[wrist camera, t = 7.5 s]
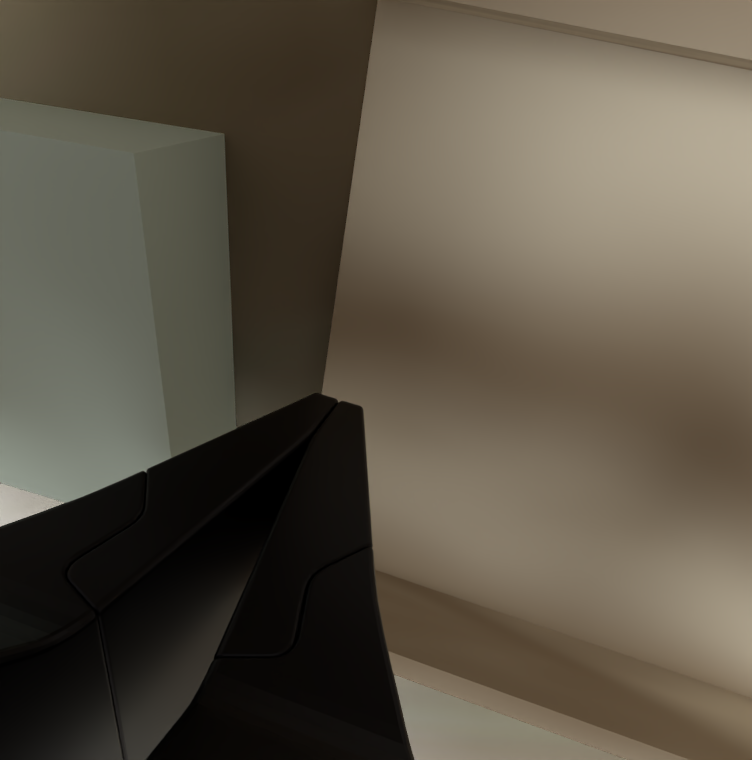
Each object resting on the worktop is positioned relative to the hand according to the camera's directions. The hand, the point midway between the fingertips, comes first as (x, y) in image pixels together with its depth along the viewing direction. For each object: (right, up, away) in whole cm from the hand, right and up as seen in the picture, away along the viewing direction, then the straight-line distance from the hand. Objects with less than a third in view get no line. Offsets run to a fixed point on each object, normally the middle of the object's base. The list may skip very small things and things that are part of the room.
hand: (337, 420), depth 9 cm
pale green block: (-6, +3, +4) cm, 7 cm away
